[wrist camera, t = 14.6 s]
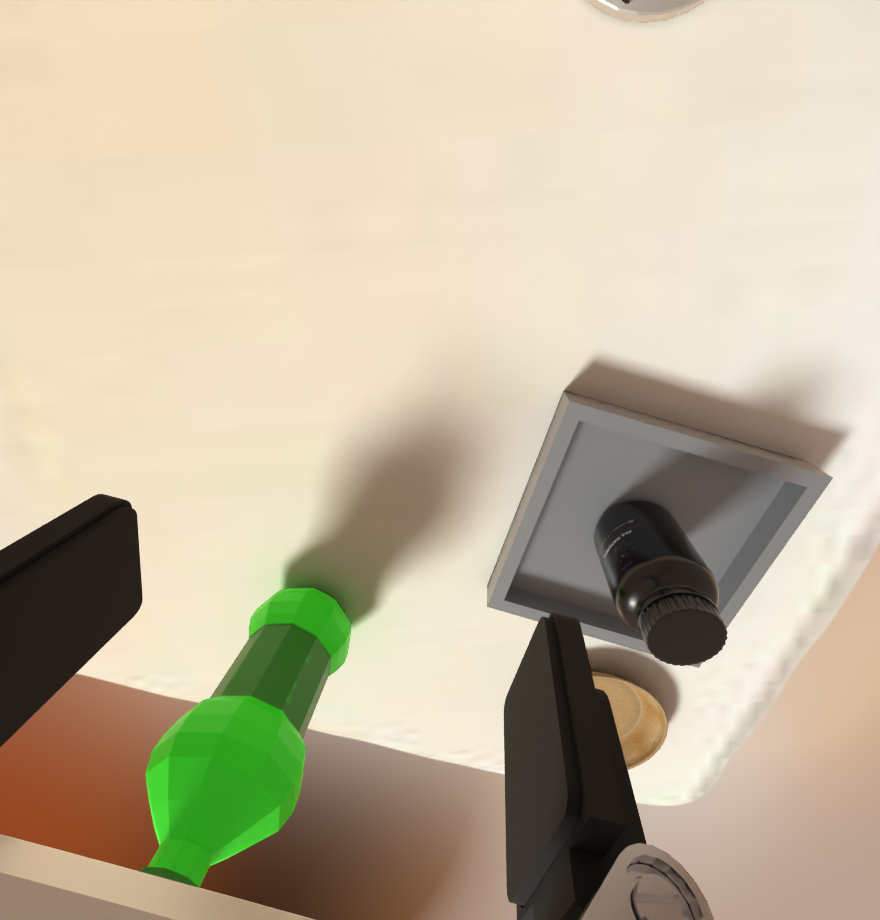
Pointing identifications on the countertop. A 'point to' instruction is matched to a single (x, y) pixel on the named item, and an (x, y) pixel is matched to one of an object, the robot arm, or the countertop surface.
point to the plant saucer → (634, 718)
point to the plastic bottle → (245, 739)
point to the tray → (649, 479)
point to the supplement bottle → (660, 582)
